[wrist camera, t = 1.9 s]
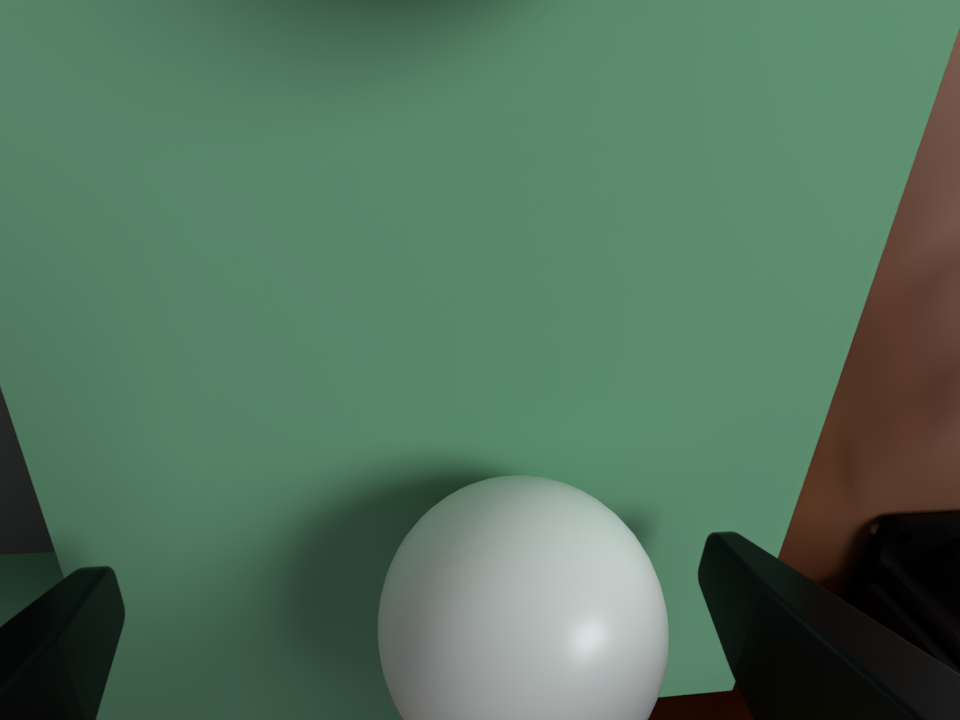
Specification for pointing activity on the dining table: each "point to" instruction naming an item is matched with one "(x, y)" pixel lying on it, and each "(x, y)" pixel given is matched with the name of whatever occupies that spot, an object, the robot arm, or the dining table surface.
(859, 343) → the dining table surface
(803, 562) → the dining table surface
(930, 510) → the dining table surface
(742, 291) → the putting mat
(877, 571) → the robot arm
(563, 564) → the white ball
